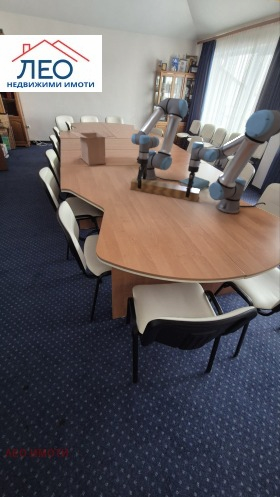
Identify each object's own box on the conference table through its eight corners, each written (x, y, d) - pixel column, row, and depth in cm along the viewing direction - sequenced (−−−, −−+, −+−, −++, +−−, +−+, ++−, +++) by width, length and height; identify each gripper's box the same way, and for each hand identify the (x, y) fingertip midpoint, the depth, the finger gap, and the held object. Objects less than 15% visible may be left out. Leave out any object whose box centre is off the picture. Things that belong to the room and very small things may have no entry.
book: (193, 181, 204) (194, 176, 201) (208, 186, 195) (209, 181, 192) (178, 186, 191) (179, 181, 188) (193, 192, 182) (195, 186, 179)
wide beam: (130, 189, 180) (131, 181, 176) (134, 185, 187) (135, 177, 183) (196, 201, 168) (198, 193, 164) (198, 197, 175) (200, 189, 172)
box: (116, 165, 229) (116, 136, 213) (83, 168, 214) (80, 137, 198) (102, 154, 259) (101, 128, 243) (71, 156, 244) (68, 129, 228)
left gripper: (143, 162, 157) (141, 191, 170) (152, 155, 176) (150, 182, 189) (133, 161, 159) (132, 190, 172) (143, 154, 177) (141, 180, 190)
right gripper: (197, 171, 149) (191, 201, 162) (200, 162, 167) (194, 190, 180) (186, 169, 151) (180, 199, 164) (191, 161, 169) (185, 188, 182)
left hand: (141, 186), depth 180 cm, fingers open, 11 cm apart
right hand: (188, 194), depth 172 cm, fingers open, 11 cm apart
